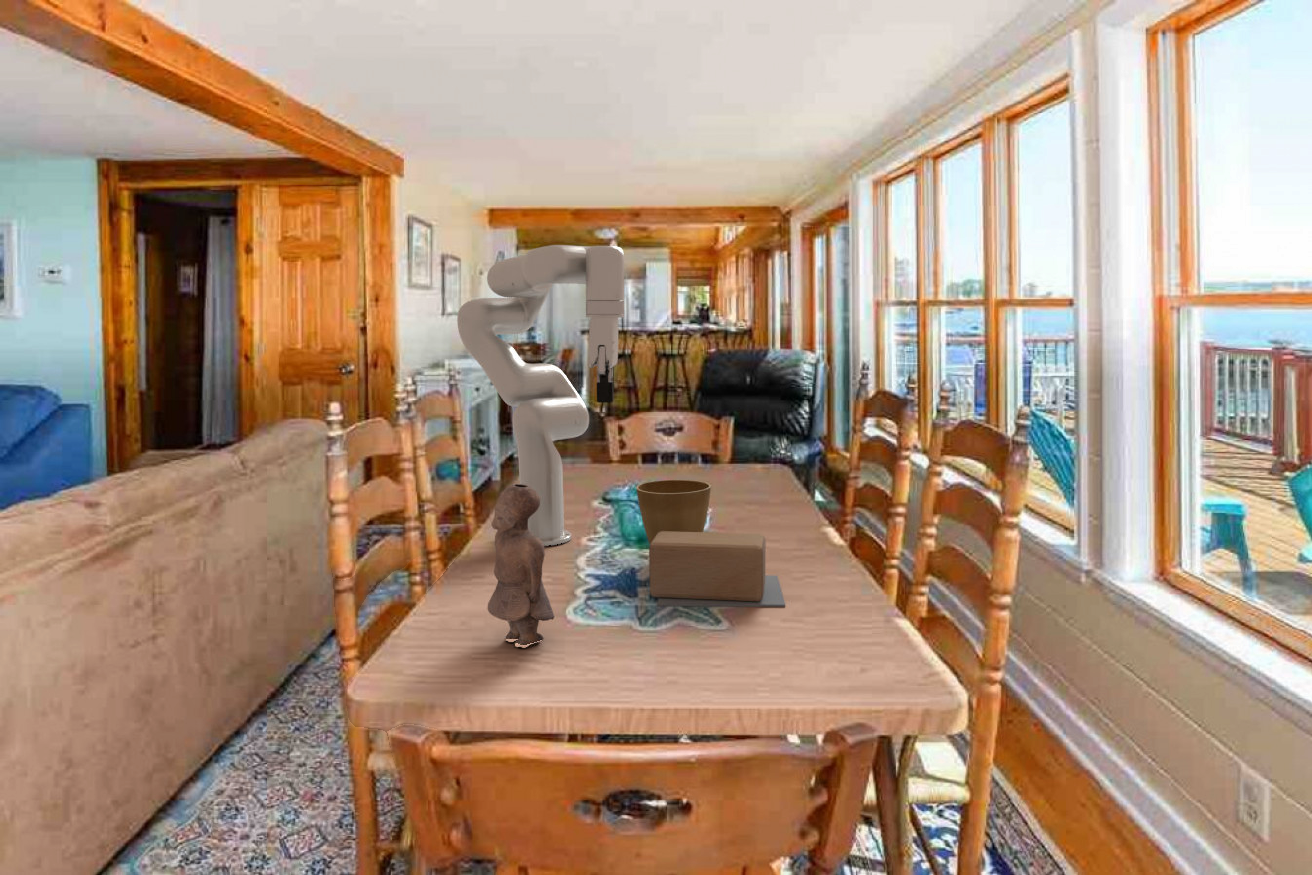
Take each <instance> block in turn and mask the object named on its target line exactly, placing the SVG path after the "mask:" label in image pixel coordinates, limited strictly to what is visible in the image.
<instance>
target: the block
mask: <svg viewBox="0 0 1312 875" xmlns="http://www.w3.org/2000/svg"><path fill="white" fill-rule="evenodd" d="M766 545H767V544H766V537H765V535H764V534H761V533H741V532H739V533H738V532H737V533H734V532H729V533H728V532H706V531H705V532H704V531H703V532H673V531H661V532H658V534H657V535H656V537H655V538H654V540H653V541H652V543H651V544H649V548H648V554H649V556H648V558H649V559H648V560H649V562H648V564H649V566H648V568H649V569H648V570H649V573H648V574H649V578H648V579H649V593H650V595H651V597H653V598H659V597H663V598H687V599H711V600H734V601H760V600H762V597H763V594H764V587H765V575H766Z"/></svg>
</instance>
